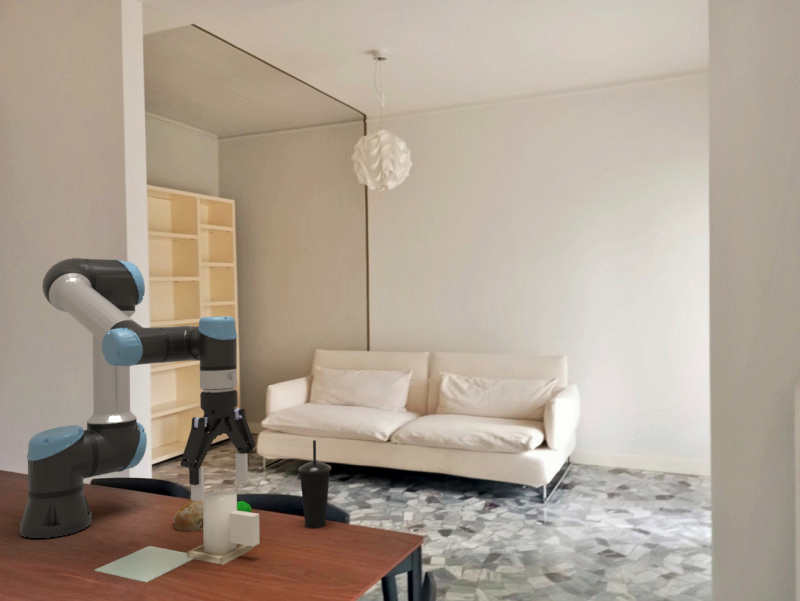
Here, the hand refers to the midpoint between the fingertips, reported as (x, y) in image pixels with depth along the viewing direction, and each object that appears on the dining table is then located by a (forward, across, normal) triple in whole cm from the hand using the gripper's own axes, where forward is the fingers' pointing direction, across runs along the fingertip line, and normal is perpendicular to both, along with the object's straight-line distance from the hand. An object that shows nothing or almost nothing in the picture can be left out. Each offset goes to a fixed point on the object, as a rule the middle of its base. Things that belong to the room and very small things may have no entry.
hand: (220, 491), depth 135 cm
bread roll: (+13, +12, +19) cm, 26 cm away
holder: (+13, 0, 0) cm, 13 cm away
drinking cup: (+14, +24, -8) cm, 29 cm away
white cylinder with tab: (+13, 0, -2) cm, 13 cm away
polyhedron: (+13, +19, +10) cm, 26 cm away
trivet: (+13, -10, +10) cm, 20 cm away
